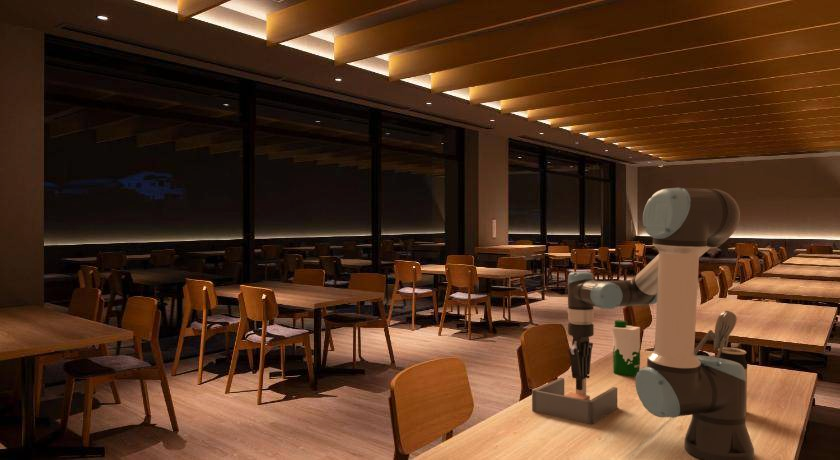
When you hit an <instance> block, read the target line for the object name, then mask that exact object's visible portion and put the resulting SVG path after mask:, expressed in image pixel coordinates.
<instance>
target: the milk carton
mask: <svg viewBox="0 0 840 460" xmlns="http://www.w3.org/2000/svg"><path fill="white" fill-rule="evenodd" d="M611 329H612V350H613V351H612V363H613V365H612V366H613V374H614V375H620V376H626V377H633V378H634V377H636V375H637V373H638V372H639V371H640V369H641V337H640V336H641V327H640V326H633V325H627V321H626V320H619V319H618V320H614V326H613V327H612V328H611Z"/></svg>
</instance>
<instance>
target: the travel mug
mask: <svg viewBox="0 0 840 460" xmlns="http://www.w3.org/2000/svg"><path fill="white" fill-rule="evenodd" d="M719 348H720V347H718V348H717V351H718V352H719ZM746 354H747V351H746V350H744V349H740V348H737V347H736V348H735V347H727V348H723V349H722V352H721V355H720V358H722V359H726V360H731V361H734V362H737V363H739V364H741V365H742V366H743V367H744V369H745V379H746V413H747V410H748V409H747V402H748V401H747V399H748V362H747V359H746Z"/></svg>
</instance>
